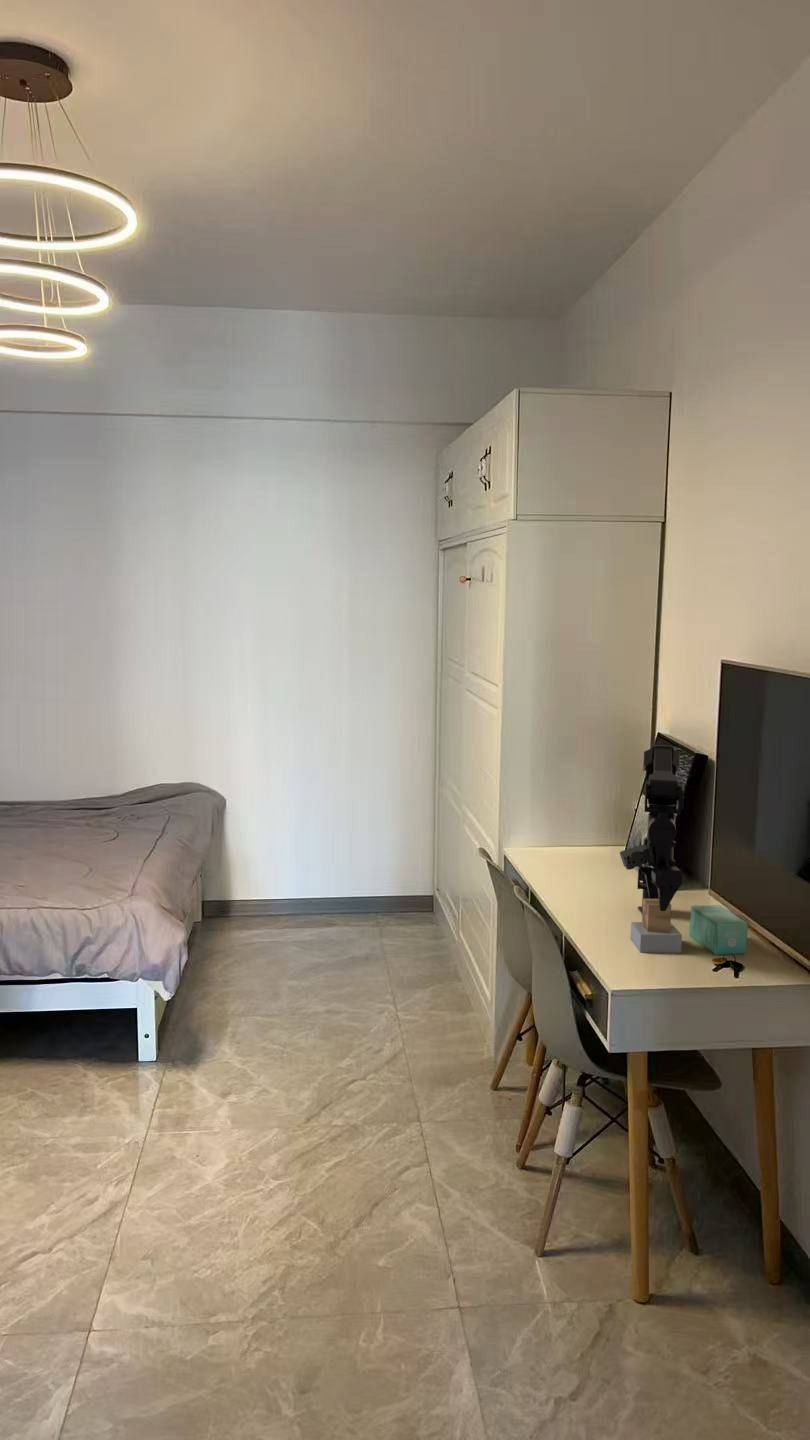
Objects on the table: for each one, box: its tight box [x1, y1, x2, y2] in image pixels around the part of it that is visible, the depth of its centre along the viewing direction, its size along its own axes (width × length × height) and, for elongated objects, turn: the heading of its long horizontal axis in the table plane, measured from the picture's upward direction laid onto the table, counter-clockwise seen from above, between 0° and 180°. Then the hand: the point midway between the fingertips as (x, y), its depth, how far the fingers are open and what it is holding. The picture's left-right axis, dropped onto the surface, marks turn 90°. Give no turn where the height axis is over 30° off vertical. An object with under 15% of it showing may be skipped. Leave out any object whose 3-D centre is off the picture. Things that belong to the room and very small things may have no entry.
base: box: [629, 921, 683, 954], centre depth 240 cm, size 9×9×4 cm
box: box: [688, 904, 749, 956], centre depth 241 cm, size 7×14×8 cm, turn 11°
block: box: [641, 899, 672, 932], centre depth 239 cm, size 5×5×6 cm
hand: (657, 904), depth 239 cm, fingers open, 9 cm apart
